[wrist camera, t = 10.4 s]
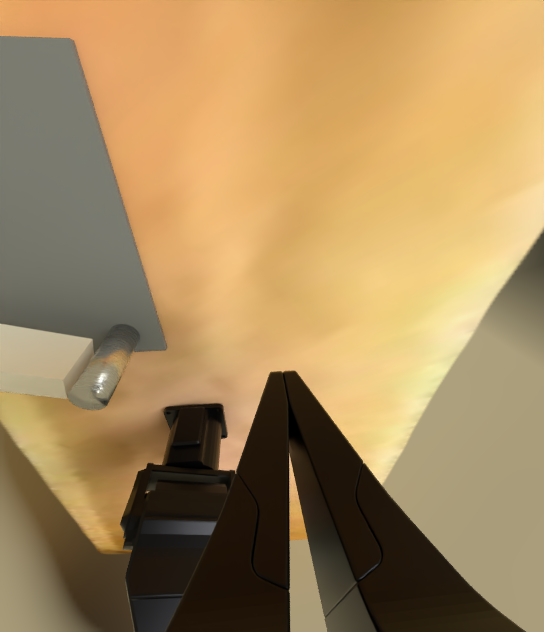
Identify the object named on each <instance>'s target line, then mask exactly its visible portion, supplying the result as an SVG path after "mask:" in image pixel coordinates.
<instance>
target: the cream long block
mask: <svg viewBox="0 0 544 632" xmlns="http://www.w3.org/2000/svg"><path fill="white" fill-rule="evenodd" d="M93 355H94V350H93V339H90V338H84V337H78V336H72V335H66V334H60V333H54V332H48V331H42V330H35V329H29V328H23V327H17V326H11V325H5V324H0V391H1V392H10V393H19V394H27V395H36V396H45V397H54V398H63V399H67V398H68V393H69V391H70V390H71V388H72V387H73V385H74V384H75V382H76V381H77V379H78V378H79V376H80V375H81V373H82V372H83V370H84V369H85V367H86V366H87V364H88V363H89V361H90V360H91V358H92V357H93Z"/></svg>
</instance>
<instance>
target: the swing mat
mask: <svg viewBox="0 0 544 632" xmlns="http://www.w3.org/2000/svg"><path fill="white" fill-rule="evenodd" d="M0 324H5V325H11V326H17V327H23V328H29V329H35V330H42V331H48V332H54V333H60V334H66V335H72V336H78V337H84V338H90V339H93V350H94V354H95V352H96V351H97V349H98V348H99V346H100V345H101V343H102V342H103V340H104V339H105V337H106V336H107V334H108V333H109V331H110V330H111V328H112V327H113V326H115V325H117V324H126V325H130V326H132V327H134V328H135V329H136V330H137V331H138V332H139V334H140V340H139V342H138V344H137V346H136V348H135V350H134V352H140V351H161V350H166V349H167V345H166V341H165V338H164V335H163V332H162V328H161V325H160V322H159V318H158V315H157V312H156V309H155V305H154V302H153V299H152V296H151V292H150V289H149V286H148V282H147V279H146V276H145V273H144V269H143V266H142V263H141V259H140V256H139V253H138V250H137V246H136V243H135V240H134V236H133V233H132V230H131V227H130V223H129V220H128V217H127V213H126V210H125V207H124V204H123V200H122V197H121V194H120V190H119V187H118V184H117V181H116V177H115V174H114V171H113V167H112V164H111V161H110V158H109V154H108V151H107V148H106V144H105V141H104V138H103V135H102V131H101V128H100V125H99V121H98V118H97V115H96V112H95V108H94V105H93V102H92V98H91V95H90V92H89V89H88V85H87V82H86V79H85V76H84V72H83V69H82V66H81V62H80V59H79V56H78V53H77V49H76V46H75V43H74V40H72V39H70V38H42V37H11V36H0Z"/></svg>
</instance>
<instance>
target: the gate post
mask: <svg viewBox="0 0 544 632" xmlns="http://www.w3.org/2000/svg"><path fill="white" fill-rule="evenodd" d="M139 340H140V334H139V332H138V331H137V330H136V329H135V328H134V327H132V326H130V325H126V324H117V325H115V326H113V327H112V328H111V330H110V331H109V333H108V334H107V336H106V337H105V339H104V340H103V342H102V343H101V345H100V346H99V348H98V349H97V351H96V352H95V354H94V355H93V357H92V358H91V360H90V361H89V363H88V364H87V366H86V367H85V369H84V370H83V372H82V373H81V375H80V376H79V378H78V379H77V381H76V382H75V384H74V385H73V387H72V388H71V390H70V391H69V393H68V399H69V401H70V402H71V403H72V404H74V405H75V406H77V407H80V408H83V409H87V410H99V409H103V408H105V407H106V406H107V404H108V402H109V400H110V398H111V396H112V394H113V392H114V390H115V388H116V386H117V384H118V382H119V380H120V378H121V376H122V374H123V372H124V370H125V368H126V366H127V364H128V362H129V360H130V358H131V356H132V354H133V352H134V350H135V348H136V346H137V344H138V342H139Z"/></svg>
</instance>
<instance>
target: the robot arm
mask: <svg viewBox="0 0 544 632" xmlns="http://www.w3.org/2000/svg"><path fill="white" fill-rule="evenodd" d="M164 415H165V417H166V420H167V422H168V425H169V427H170V430H171V431H170V435H169V439H168V443H167V447H166V451H165V455H164V459H163V463H162V465H154V463H148V464H147V467H146V469H144V470H141V471H138V474H137V477H136V480H135V483H134V486H133V490H132V492H131V495H130V498H129V500H128V503H127V506H126V509H125V511H124V514H123V517H122V520H121V523H120V525H121V527H122V529H123V531H124V537H123V538H125V542H124V546H123V550H132V553H131V557H130V561H129V565H128V568H127V572H126V588H127V594H128V599H129V605H130V610H131V616H132V621H133V627H134V632H290V593H289V588H290V565H289V564H290V562H289V561H290V560H289V559H290V557H289V554H290V552H289V453H290V458H291V462H292V467H293V472H294V476H295V481H296V486H297V491H298V495H299V500H300V505H301V509H302V514H303V519H304V523H305V528H306V533H307V538H308V542H309V547H310V552H311V556H312V561H313V566H314V570H315V575H316V579H317V584H318V589H319V593H320V599H321V603H322V608H323V613H324V616H325V622H326V627H327V632H526V631H524V630H523V629H522V628H520V627H519V626H518V625H516V624H515V623H514V622H512V621H511V620H510V619H508V618H507V617H506V616H504V615H503V614H502V613H501V612H499V611H498V610H497V609H496V608H494V607H493V606H492V605H491V604H490V603H489V602H487V601H486V600H485V599H484V598H483V597H482V596H481V595H480V594H479V593H478V592H476V591H475V590H474V589H473V588H472V587H471V586H470V585H469V584H468V583H467V582H466V581H465V580H464V578H463V577H461V575H460V574H459V573H458V572H457V571H456V570H455V569H454V567H453V566H452V565H451V564H450V563H449V562H448V561H447V560H446V559H445V558H444V556H443V555H442V554H441V553H440V552H439V551H438V550H437V548H436V547H435V546H434V545H433V544H432V543H431V542H430V541H429V540H428V539H427V537H425V535H424V534H423V533H422V532H421V531H420V530H419V529H418V527H417V526H416V525H415V524H414V523H413V522H412V521H411V520H410V518H409V517H408V516H407V515H406V514H405V513H404V512H403V510H402V509H401V508H400V507H399V506H398V505H397V503H396V502H395V501H394V500H393V499H392V498H391V497H390V495H389V494H388V493H387V491H386V490H385V489H384V488H383V486H382V485H381V484H380V483H379V481H378V480H377V479H376V477H375V476H374V475H373V473H372V472H371V471H370V469H369V468H368V467H367V465H366V464H365V463H364V464H363V460H362V459H361V458H360V456H359V455H358V454H357V452H356V451H355V450H354V448H353V447H352V446H351V444H350V443H349V442H348V440H347V439H346V438H345V436H344V435H343V434H342V432H341V431H340V429H339V428H338V427H337V425H336V424H335V423H334V421H333V420H332V419H331V417H330V416H329V415H328V413H327V412H326V411H325V409H324V408H323V407H322V405H321V404H320V403H319V401H318V400H317V399H316V397H315V396H314V395H313V393H312V392H311V391H310V389H309V388H308V387H307V385H306V384H305V383H304V381H303V380H302V379H301V377H300V376H299V375H298V373H297V372H296V371H284V372H281V371H277V372H270V374H269V377H268V380H267V383H266V386H265V389H264V391H263V394H262V397H261V400H260V403H259V406H258V409H257V412H256V415H255V418H254V421H253V424H252V426H251V429H250V432H249V435H248V438H247V441H246V444H245V447H244V450H243V453H242V456H241V459H240V462H239V464H238V467H237V470H236V474H235V470H230V471H224V470H218V468H219V456H220V444H221V439H223V438H227V434H228V433H227V427H226V421H225V414H224V408H223V405H221V404H214V405H197V406H181V407H167V408H165V410H164ZM147 491H149V492H148V493H147Z"/></svg>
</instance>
